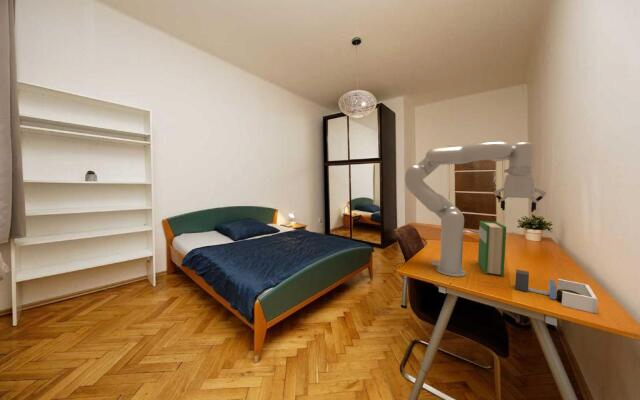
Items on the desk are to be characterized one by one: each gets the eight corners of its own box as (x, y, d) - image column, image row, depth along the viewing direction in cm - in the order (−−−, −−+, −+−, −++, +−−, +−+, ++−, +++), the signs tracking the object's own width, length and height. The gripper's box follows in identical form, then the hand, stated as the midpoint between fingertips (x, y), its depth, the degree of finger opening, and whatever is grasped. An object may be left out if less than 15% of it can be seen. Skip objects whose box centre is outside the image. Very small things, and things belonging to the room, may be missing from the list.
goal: (561, 305, 83) (562, 292, 83) (557, 290, 95) (558, 278, 95) (596, 313, 78) (597, 299, 77) (587, 297, 90) (588, 284, 89)
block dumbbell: (514, 290, 95) (515, 273, 94) (515, 284, 101) (516, 268, 100) (555, 299, 87) (556, 281, 86) (553, 292, 93) (555, 275, 92)
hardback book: (503, 276, 109) (506, 227, 108) (484, 274, 113) (487, 225, 111) (494, 265, 125) (496, 221, 124) (477, 263, 128) (479, 220, 127)
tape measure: (556, 302, 86) (557, 292, 85) (555, 295, 91) (556, 286, 90) (584, 309, 81) (585, 298, 81) (581, 301, 86) (582, 292, 86)
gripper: (493, 172, 103) (492, 210, 104) (548, 170, 91) (545, 213, 92) (495, 172, 108) (493, 208, 109) (546, 171, 97) (544, 211, 98)
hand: (517, 210), depth 101 cm, fingers open, 9 cm apart
